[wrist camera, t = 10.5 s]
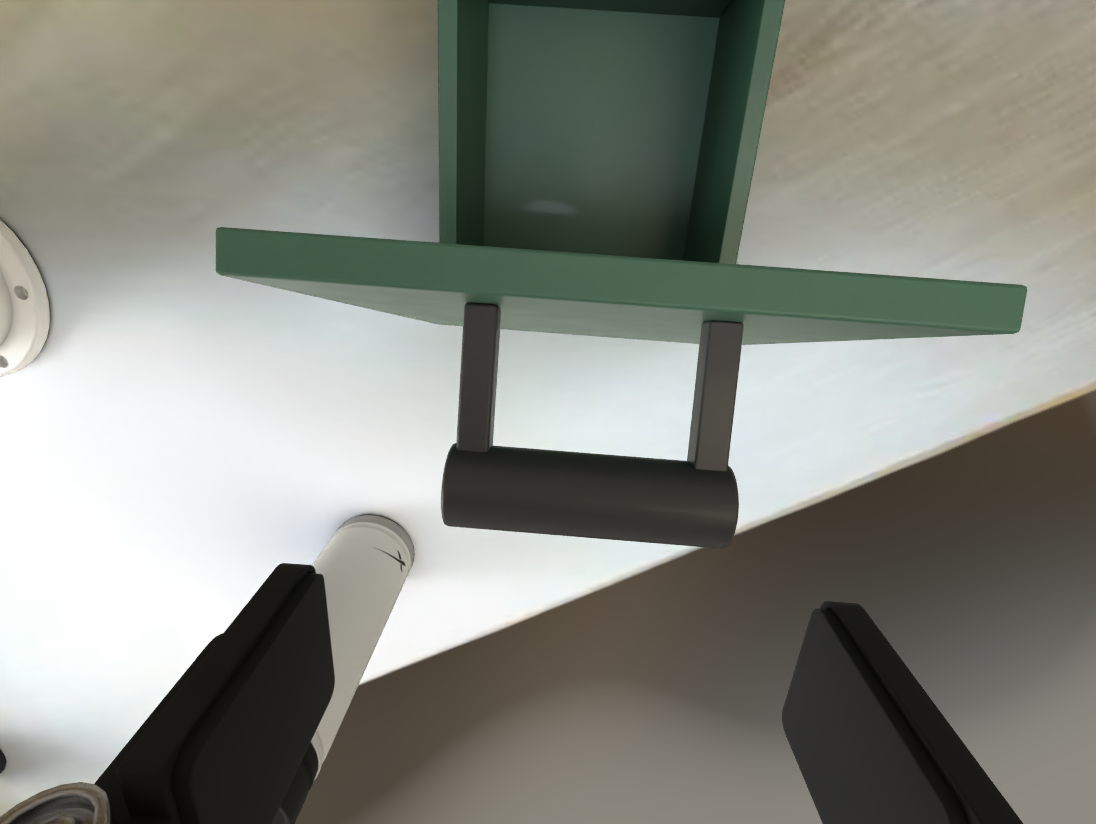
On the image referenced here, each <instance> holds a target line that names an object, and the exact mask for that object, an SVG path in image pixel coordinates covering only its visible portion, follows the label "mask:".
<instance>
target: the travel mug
mask: <svg viewBox="0 0 1096 824" xmlns="http://www.w3.org/2000/svg"><path fill="white" fill-rule="evenodd" d="M413 561H414V547H413V544H412V542H411V540H410V538H409V536H408V535H407V533H406V532H405V531H404V530H403V529H402V528H401V527H400V526H399V525H397V524H396V523H394V522H393V521H391V520H389V519H386V518H383V517H380V516H375V515H363V516H357V517H354V518H352V519H349V520H348V521H346V522H345V523H343V524H342V525H341V526H340V528H339V529H338V530H337V532H336V533H335V534H334V536H333V537H332V539H331V540H330V541H329V543H328V544H327V545H326V547H325V548H324V549H323V551H322V552H321V553H320V555H319V556H318V558H317V559H316V560H315V562H314V563H313V564H312V566H313V567H314V568H315V571H316V574H322V575H323V577H324V582H325V591H326V600H327V609H328V619H329V628H330V637H331V646H332V655H333V665H334V674H335V686H334V691H333V695H332V698H331V700H330V702H329V704H328V707H327V709H326V711H325V713H324V715H323V717H322V719H321V721H320V723H319V726H318V728H317V730H316V732H315V734H314V736H313V738H312V740H311V742H310V744H309V747H308V749H307V751H306V753H305V755H304V757H303V759H302V761H301V763H300V765H299V768H298V770H297V772H296V774H295V776H294V778H293V780H292V782H291V784H290V787H289V789H288V791H287V793H286V795H285V797H284V799H283V801H282V803H281V805H280V808H279V810H278V812H277V814H276V816H275V818H274V820H273V822H272V824H295V822H296V819H297V817H298V815H299V813H300V811H301V808H302V806H303V804H304V802H305V799H306V797H307V794H308V791H309V790H310V788H311V786H312V784H313V782H314V780H315V779H316V777H317V776H318V773H319V771H320V769H321V766H322V763H323V761H324V760H325V758H326V755H327V753H328V751H329V749H330V747H331V744H332V742H333V740H334V738H335V736H336V733H337V731H338V729H339V727H340V725H341V722H342V720H343V718H344V715H345V713H346V711H347V709H348V707H349V704H350V702H351V700H352V698H353V696H354V693H355V691H356V689H357V687H358V685H359V682H360V680H361V678H362V676H363V673H364V671H365V669H366V667H367V665H368V662H369V660H370V658H371V656H372V653H373V651H374V649H375V647H376V645H377V642H378V640H379V638H380V636H381V633H382V631H383V629H384V627H385V625H386V622H387V620H388V618H389V616H390V613H391V611H392V609H393V607H394V604H395V602H396V600H397V598H398V596H399V593H400V591H401V589H402V587H403V584H404V582H405V580H406V577H407V576H408V573H409V571H410V569H411V567H412V564H413Z"/></svg>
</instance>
